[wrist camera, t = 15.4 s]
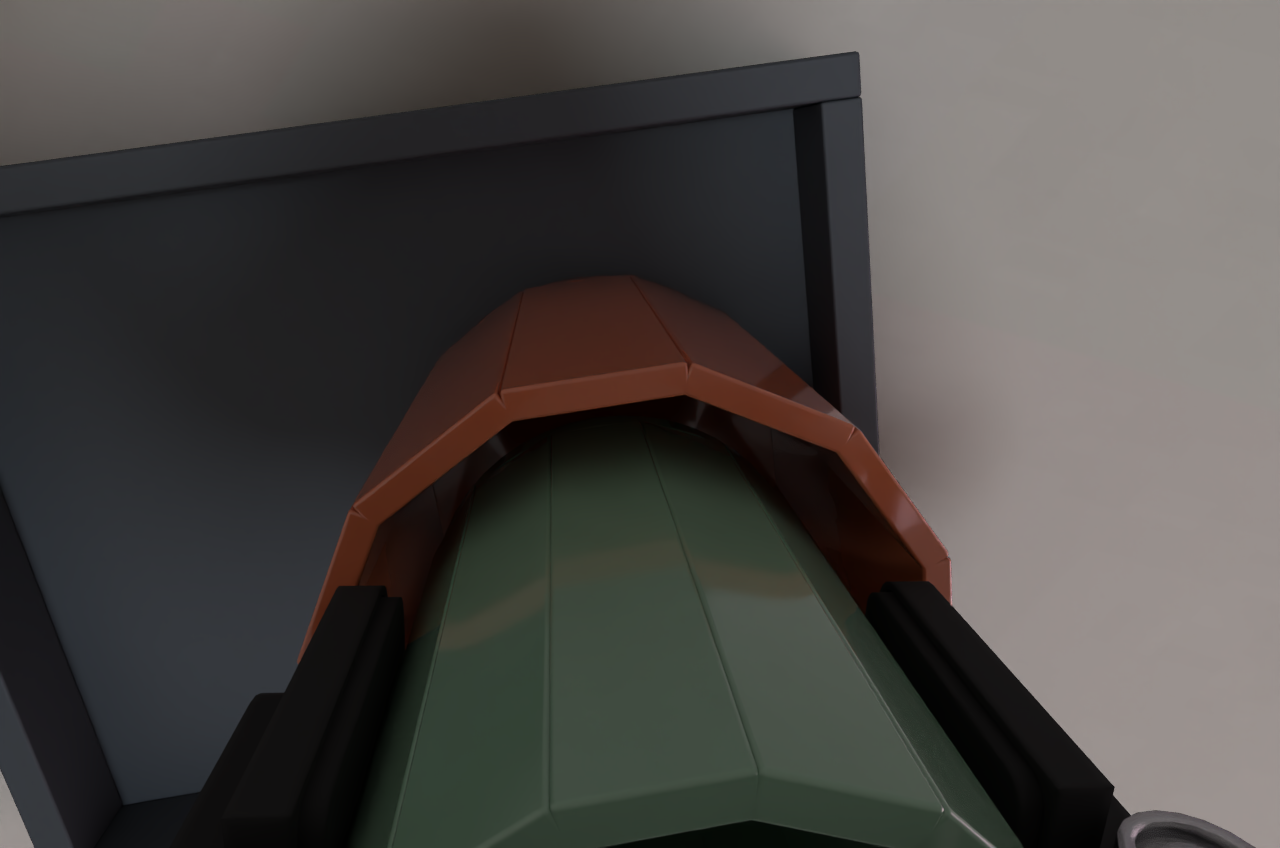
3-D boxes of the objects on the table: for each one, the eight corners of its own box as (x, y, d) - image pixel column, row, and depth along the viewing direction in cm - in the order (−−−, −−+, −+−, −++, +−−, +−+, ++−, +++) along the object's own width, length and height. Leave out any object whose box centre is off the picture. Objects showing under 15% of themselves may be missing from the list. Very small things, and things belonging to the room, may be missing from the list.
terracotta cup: (380, 306, 18) (225, 431, 10) (766, 249, 19) (947, 322, 10) (456, 647, 21) (388, 989, 12) (795, 590, 21) (960, 881, 13)
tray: (-134, 194, 17) (-249, 199, 15) (818, 65, 18) (860, 50, 16) (113, 818, 22) (56, 902, 19) (858, 688, 23) (895, 752, 20)
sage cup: (396, 446, 13) (161, 877, 5) (786, 386, 13) (1118, 706, 5) (470, 768, 14) (380, 1443, 7) (812, 707, 15) (1089, 1289, 7)
